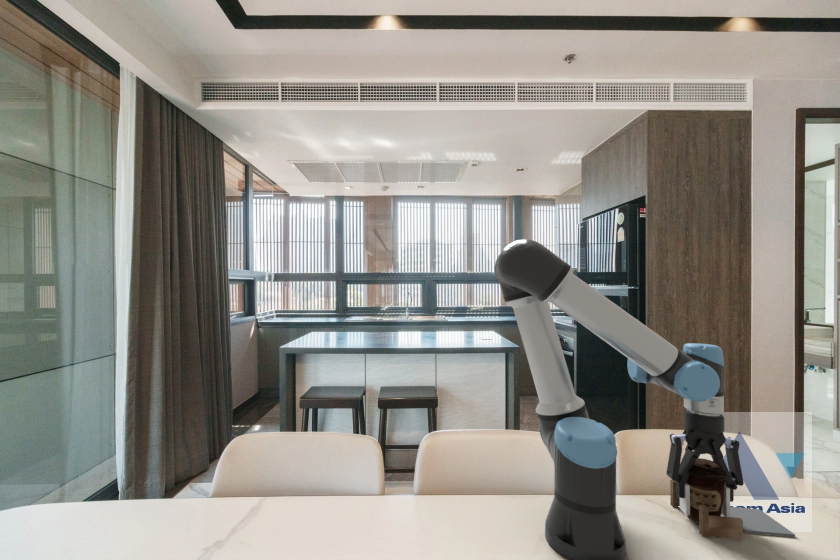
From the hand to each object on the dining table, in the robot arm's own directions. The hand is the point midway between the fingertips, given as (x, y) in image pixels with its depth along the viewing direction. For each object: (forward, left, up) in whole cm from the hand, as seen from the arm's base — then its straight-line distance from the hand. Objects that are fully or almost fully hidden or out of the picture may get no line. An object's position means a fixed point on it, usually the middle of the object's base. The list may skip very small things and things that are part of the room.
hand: (704, 513), depth 88 cm
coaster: (+11, +2, -2) cm, 11 cm away
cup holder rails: (0, 0, -2) cm, 2 cm away
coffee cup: (0, 0, -2) cm, 2 cm away
